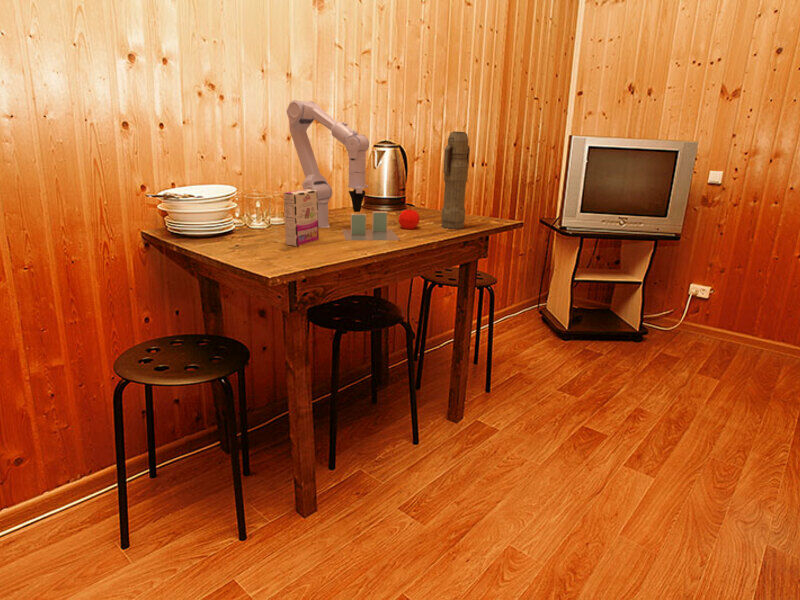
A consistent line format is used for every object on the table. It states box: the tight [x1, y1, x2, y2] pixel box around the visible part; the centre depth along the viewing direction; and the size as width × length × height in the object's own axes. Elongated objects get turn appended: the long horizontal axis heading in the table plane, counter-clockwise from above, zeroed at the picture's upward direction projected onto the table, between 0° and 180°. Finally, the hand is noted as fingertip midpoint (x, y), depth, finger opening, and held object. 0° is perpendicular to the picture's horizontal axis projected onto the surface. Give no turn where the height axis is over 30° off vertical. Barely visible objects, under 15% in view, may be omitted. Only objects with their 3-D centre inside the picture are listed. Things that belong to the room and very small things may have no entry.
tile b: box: [371, 211, 388, 232], centre depth 190 cm, size 5×2×7 cm, turn 100°
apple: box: [398, 209, 421, 230], centre depth 198 cm, size 8×8×7 cm
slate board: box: [341, 229, 401, 241], centre depth 185 cm, size 18×18×1 cm
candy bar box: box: [283, 189, 320, 248], centre depth 170 cm, size 11×5×16 cm, turn 151°
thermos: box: [440, 131, 471, 230], centre depth 202 cm, size 9×12×35 cm
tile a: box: [350, 213, 367, 235], centre depth 183 cm, size 5×2×7 cm, turn 100°
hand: (356, 211), depth 188 cm, fingers closed
